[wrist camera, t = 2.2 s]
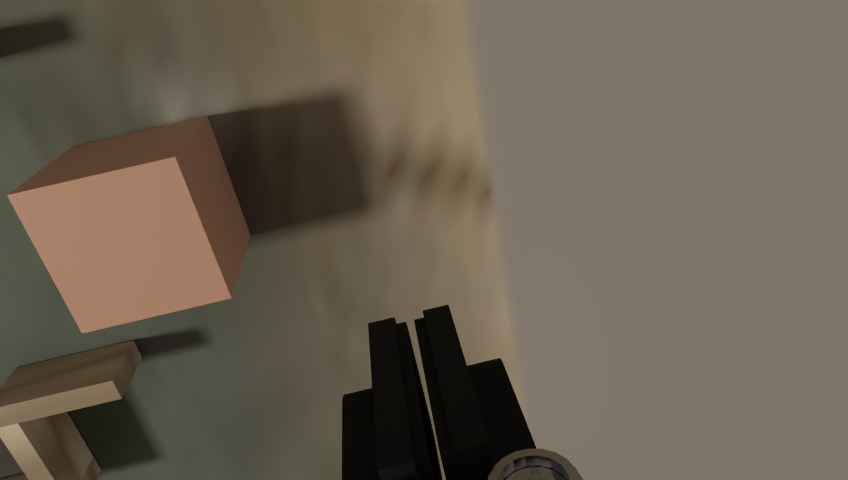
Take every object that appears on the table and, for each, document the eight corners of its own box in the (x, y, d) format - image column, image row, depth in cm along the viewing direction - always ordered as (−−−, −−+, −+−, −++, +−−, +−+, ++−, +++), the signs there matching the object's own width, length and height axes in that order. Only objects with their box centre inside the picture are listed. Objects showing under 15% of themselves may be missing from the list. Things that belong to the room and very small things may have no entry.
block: (73, 145, 25) (7, 195, 20) (207, 115, 25) (175, 156, 20) (128, 263, 27) (82, 333, 22) (250, 235, 27) (231, 298, 22)
